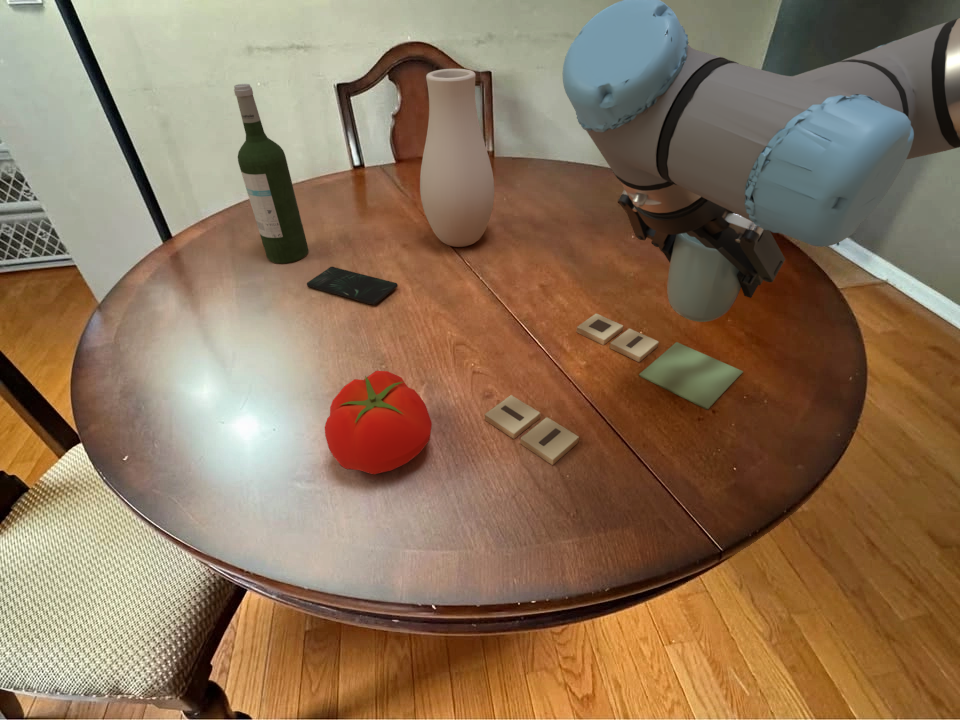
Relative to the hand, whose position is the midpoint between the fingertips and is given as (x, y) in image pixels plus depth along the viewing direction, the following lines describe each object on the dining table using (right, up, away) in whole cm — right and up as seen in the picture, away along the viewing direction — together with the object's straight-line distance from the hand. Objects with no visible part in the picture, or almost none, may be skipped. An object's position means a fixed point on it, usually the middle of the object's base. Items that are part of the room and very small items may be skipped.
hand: (717, 273), depth 64 cm
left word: (-21, -19, +4) cm, 29 cm away
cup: (-2, -5, 0) cm, 5 cm away
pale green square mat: (-3, -9, +15) cm, 18 cm away
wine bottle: (-65, +10, +43) cm, 78 cm away
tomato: (-39, -21, +3) cm, 44 cm away
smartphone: (-50, +2, +32) cm, 59 cm away
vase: (-31, +13, +45) cm, 57 cm away
